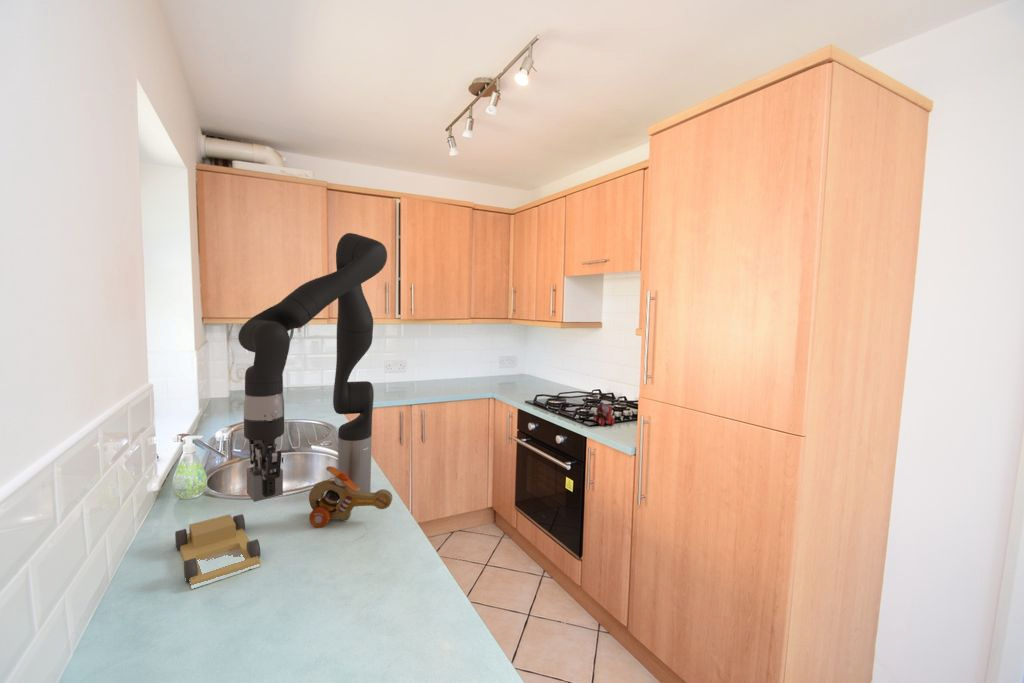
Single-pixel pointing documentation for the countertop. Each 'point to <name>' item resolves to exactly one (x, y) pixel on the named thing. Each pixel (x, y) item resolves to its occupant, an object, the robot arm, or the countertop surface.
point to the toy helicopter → (341, 499)
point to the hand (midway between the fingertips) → (264, 490)
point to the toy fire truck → (604, 414)
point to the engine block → (261, 484)
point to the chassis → (216, 546)
